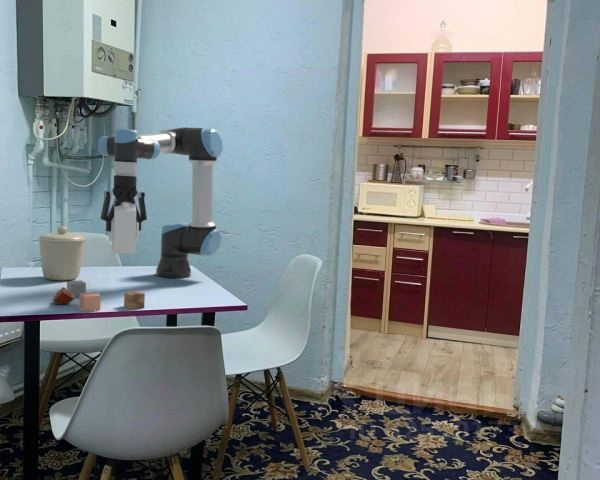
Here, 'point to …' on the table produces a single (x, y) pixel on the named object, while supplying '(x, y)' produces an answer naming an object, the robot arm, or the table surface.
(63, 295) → the fruit slice
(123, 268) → the table surface
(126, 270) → the table surface
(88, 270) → the table surface
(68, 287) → the slate grey block
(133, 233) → the milk carton
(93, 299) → the terracotta block
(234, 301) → the table surface
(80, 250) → the canister
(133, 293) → the walnut block
